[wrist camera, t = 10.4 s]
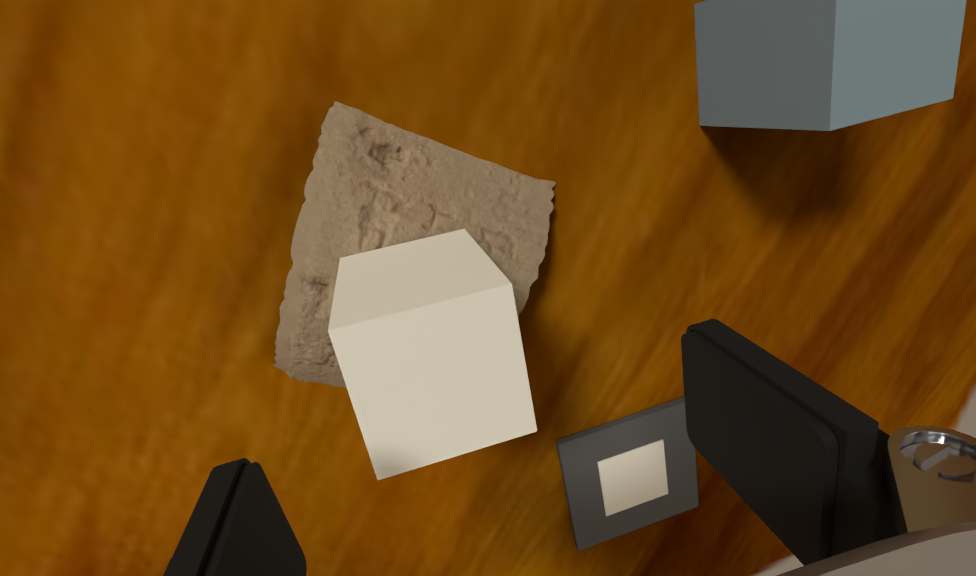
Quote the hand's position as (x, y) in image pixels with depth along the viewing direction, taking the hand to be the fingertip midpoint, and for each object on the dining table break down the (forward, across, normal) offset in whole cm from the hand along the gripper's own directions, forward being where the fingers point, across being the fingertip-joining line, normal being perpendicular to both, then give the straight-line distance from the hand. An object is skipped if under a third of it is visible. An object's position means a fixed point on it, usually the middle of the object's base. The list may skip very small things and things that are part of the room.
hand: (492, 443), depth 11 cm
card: (+13, -8, +15) cm, 21 cm away
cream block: (+11, +1, +1) cm, 11 cm away
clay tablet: (+14, +1, 0) cm, 14 cm away
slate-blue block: (+13, -16, -6) cm, 21 cm away
